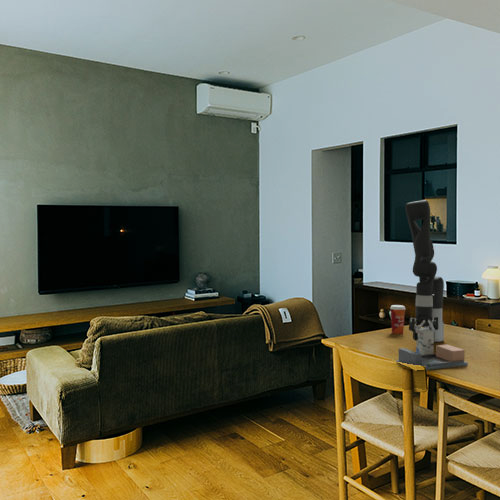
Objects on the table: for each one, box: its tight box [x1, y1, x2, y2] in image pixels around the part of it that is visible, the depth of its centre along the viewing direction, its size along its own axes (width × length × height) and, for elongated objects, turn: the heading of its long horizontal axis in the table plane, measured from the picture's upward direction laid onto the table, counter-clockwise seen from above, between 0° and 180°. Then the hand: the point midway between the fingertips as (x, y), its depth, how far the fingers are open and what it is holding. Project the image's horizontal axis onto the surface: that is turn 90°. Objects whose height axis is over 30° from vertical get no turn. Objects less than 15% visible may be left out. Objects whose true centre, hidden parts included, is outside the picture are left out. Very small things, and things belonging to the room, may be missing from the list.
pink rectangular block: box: [435, 344, 466, 361], centre depth 225 cm, size 6×11×5 cm, turn 18°
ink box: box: [415, 327, 435, 355], centre depth 237 cm, size 9×5×12 cm, turn 5°
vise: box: [395, 347, 469, 371], centre depth 222 cm, size 26×14×6 cm, turn 108°
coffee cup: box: [389, 304, 406, 335], centre depth 285 cm, size 8×8×15 cm
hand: (423, 339), depth 237 cm, fingers open, 8 cm apart
